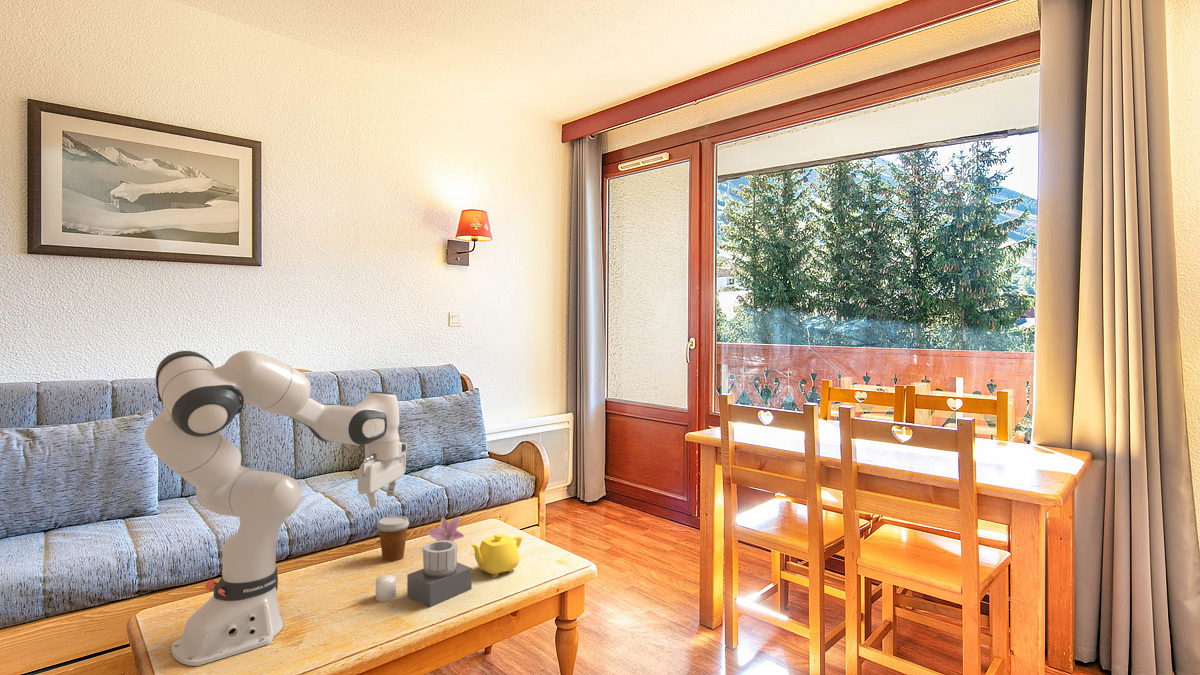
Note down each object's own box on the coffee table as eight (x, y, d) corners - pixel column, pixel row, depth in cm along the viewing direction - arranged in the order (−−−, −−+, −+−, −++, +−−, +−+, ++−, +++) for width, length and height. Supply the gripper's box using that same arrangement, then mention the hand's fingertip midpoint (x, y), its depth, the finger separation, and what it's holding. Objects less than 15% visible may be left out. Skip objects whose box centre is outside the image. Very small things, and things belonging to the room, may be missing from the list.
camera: (430, 607, 160) (430, 558, 160) (407, 596, 166) (407, 549, 166) (471, 588, 171) (471, 543, 171) (448, 579, 177) (449, 535, 177)
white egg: (382, 603, 162) (382, 585, 162) (371, 597, 165) (371, 579, 165) (399, 596, 166) (399, 578, 166) (388, 591, 169) (388, 573, 169)
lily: (424, 547, 204) (419, 527, 199) (453, 526, 211) (449, 507, 206) (445, 567, 197) (441, 547, 192) (475, 545, 204) (471, 525, 199)
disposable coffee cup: (386, 566, 186) (386, 527, 185) (371, 557, 192) (371, 520, 192) (414, 557, 193) (415, 520, 192) (399, 549, 199) (399, 513, 199)
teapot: (479, 585, 174) (479, 548, 174) (460, 572, 182) (460, 537, 182) (531, 568, 186) (531, 534, 186) (511, 557, 194) (511, 524, 194)
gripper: (374, 459, 154) (374, 513, 155) (409, 443, 175) (410, 490, 175) (350, 458, 155) (351, 512, 156) (389, 442, 176) (389, 489, 176)
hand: (382, 500), depth 166 cm, fingers open, 8 cm apart
